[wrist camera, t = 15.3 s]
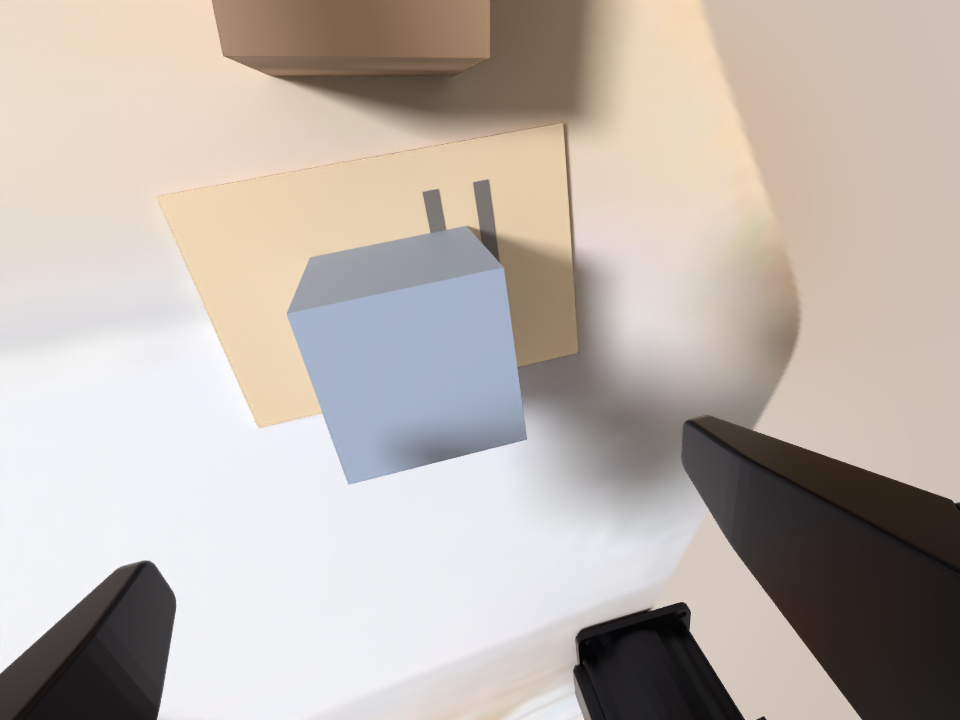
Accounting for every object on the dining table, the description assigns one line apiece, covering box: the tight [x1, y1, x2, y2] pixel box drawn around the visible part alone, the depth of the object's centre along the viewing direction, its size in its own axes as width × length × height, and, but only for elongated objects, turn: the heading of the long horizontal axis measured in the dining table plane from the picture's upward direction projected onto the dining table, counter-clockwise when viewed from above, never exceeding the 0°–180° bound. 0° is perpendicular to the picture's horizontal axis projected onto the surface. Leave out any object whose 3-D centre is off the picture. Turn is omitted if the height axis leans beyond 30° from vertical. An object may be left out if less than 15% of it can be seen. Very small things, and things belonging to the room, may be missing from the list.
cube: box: [287, 226, 527, 485], centre depth 15 cm, size 5×5×5 cm
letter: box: [156, 123, 578, 428], centre depth 16 cm, size 12×8×1 cm, turn 99°
